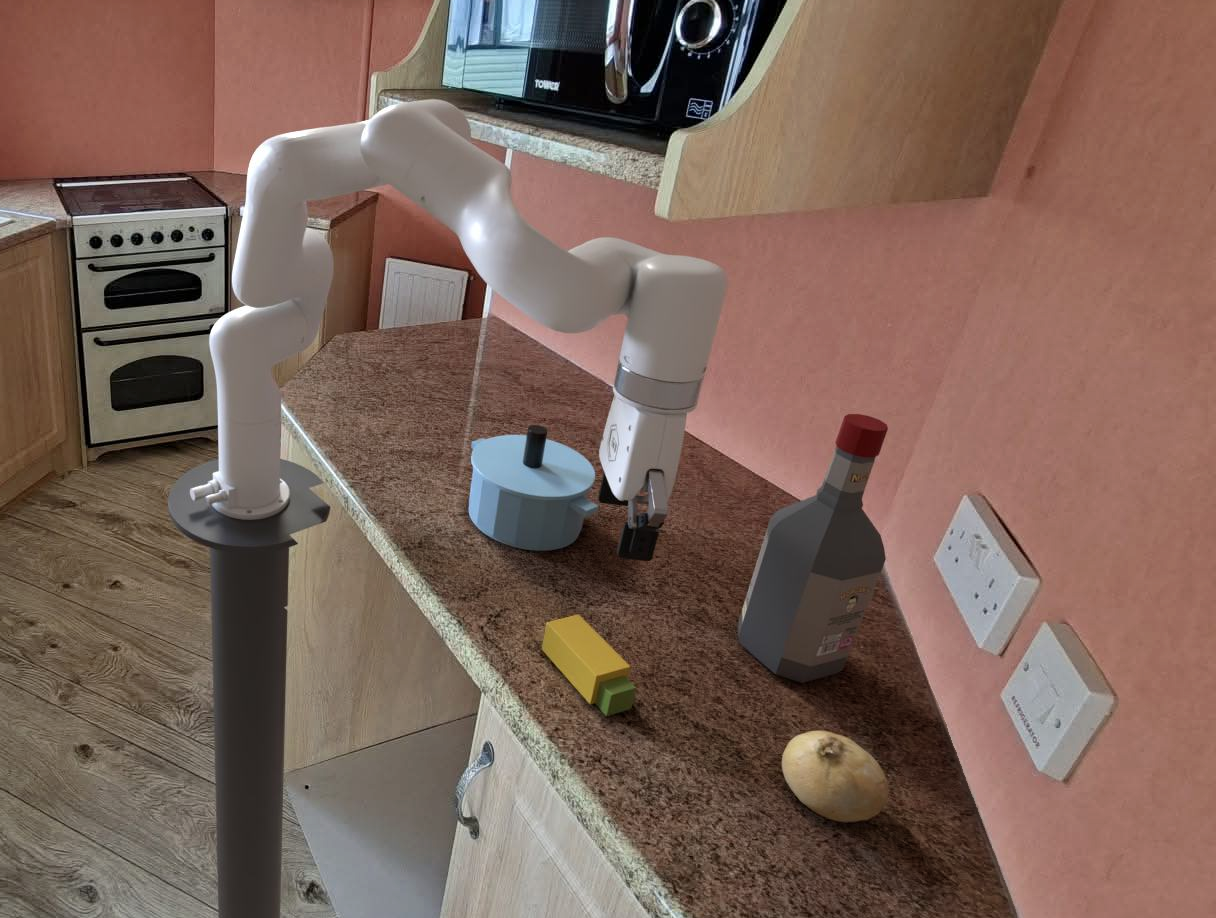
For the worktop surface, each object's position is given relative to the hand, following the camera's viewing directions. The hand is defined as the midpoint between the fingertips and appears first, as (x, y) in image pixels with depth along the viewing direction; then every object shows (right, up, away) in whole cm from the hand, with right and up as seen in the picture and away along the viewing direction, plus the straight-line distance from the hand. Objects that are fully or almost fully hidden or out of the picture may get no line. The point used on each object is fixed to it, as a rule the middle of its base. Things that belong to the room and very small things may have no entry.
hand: (622, 529), depth 84 cm
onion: (+15, -23, -9) cm, 29 cm away
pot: (0, -5, +32) cm, 32 cm away
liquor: (+22, -16, +8) cm, 29 cm away
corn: (-3, -17, +5) cm, 18 cm away
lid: (0, +2, +28) cm, 28 cm away
